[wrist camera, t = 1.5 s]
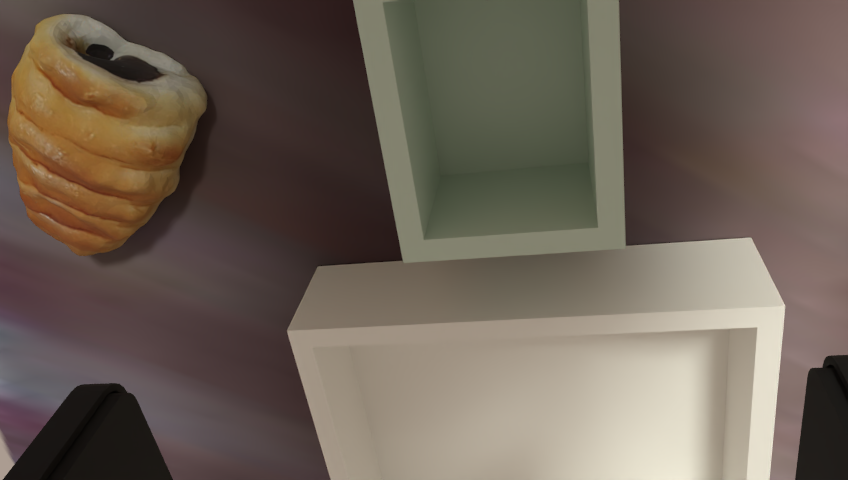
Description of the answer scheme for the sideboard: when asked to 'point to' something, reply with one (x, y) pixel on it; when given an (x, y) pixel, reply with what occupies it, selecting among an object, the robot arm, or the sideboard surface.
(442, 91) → the small crate
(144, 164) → the pastry
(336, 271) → the big crate
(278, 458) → the sideboard surface
